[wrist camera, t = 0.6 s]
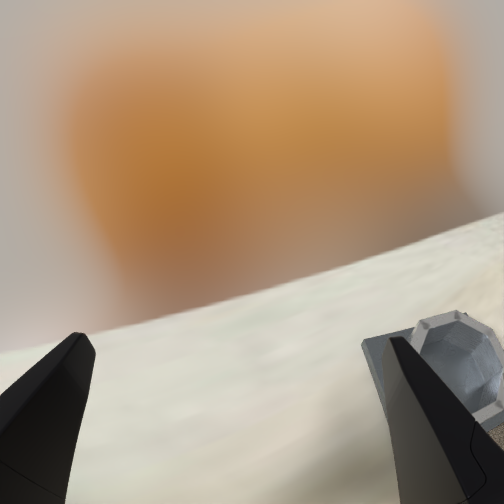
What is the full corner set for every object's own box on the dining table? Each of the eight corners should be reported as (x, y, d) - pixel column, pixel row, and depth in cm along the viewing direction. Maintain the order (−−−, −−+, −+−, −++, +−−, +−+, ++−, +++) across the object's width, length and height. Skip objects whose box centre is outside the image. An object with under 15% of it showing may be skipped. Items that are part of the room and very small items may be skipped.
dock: (508, 418, 19) (534, 401, 16) (403, 473, 18) (427, 463, 15) (461, 318, 27) (479, 293, 25) (361, 345, 26) (374, 319, 23)
